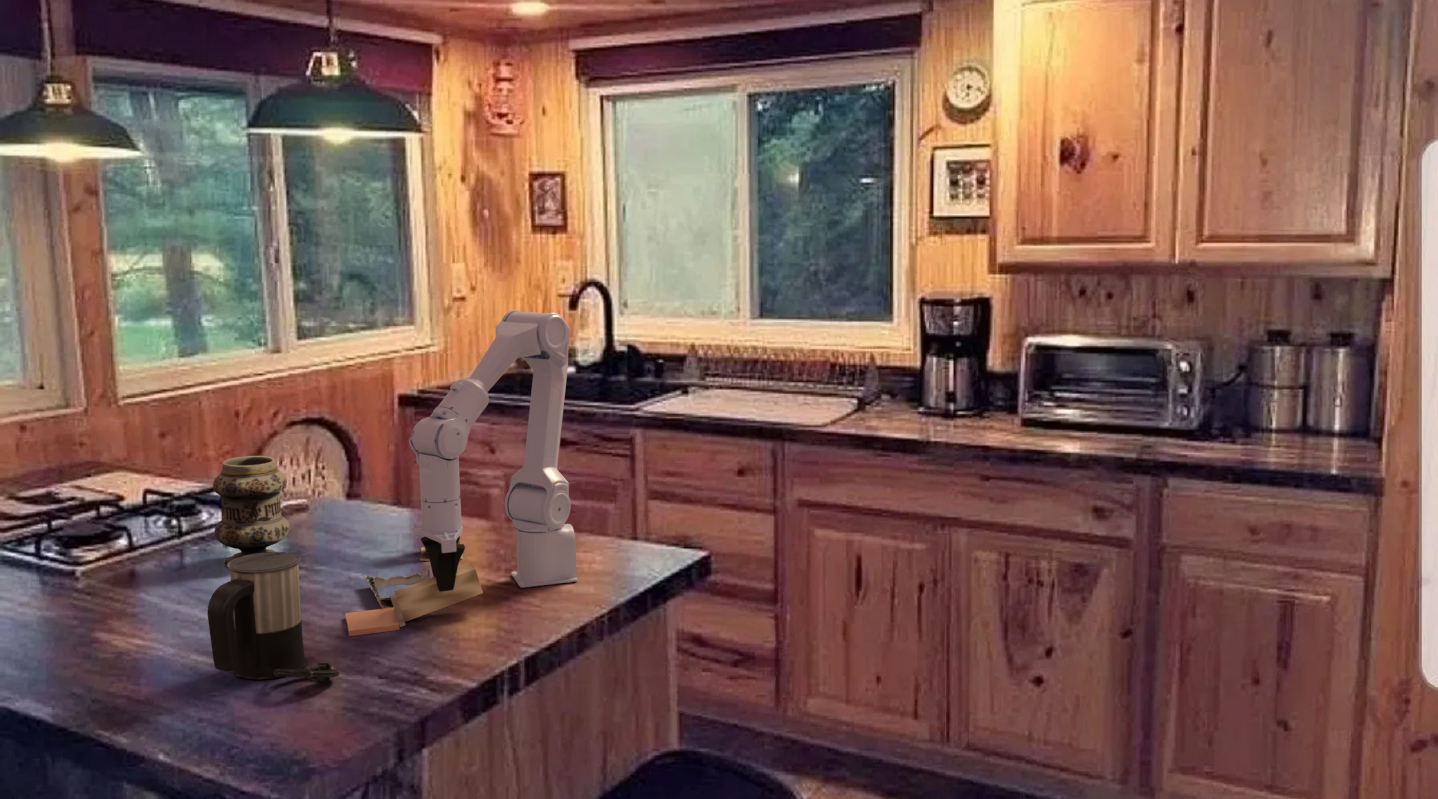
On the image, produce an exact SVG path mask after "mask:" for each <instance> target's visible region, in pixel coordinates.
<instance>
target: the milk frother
mask: <svg viewBox="0 0 1438 799" xmlns="http://www.w3.org/2000/svg"><path fill="white" fill-rule="evenodd" d="M301 560H302V559H301V556H300V555H298V554H296V553H293V552H285V551H275V552H265V553H256V554H251V555H245V556H242V557H239V558H236V559H233V560H232V561H230V562H229V563H228V564H227V567H228V568H227V567H226V568H227V569H229V571H230V572H229V573H230V581H227V582H225V583H222V584H221V585H220V586H218V587H217V588H216V590H214V592H213V593H212V594H211V596H210V600H209V602H208V605H207V622H208V627H209V628H208V629H209V636H210V643H211V650H212V651H211V652H212V659H213V665H214V667H215V668H214V669H216V670H217V671H223V672H229V673H230V672H233V674H234V675H236V677H239V678H243V679H247V680H266V679H267V680H269V679H277V678H281V677H282V678H283V677H287V678H304V679H306V680H307V679H308V680H310V681H314V682H316V683H317V684H329V682H330V680H331V679H330V678H336V677H339V676H340V671H339V669H334V666H331V663H329V662H318V663H317V664H316V665H313V666H311V667H310V668H304V667H305V666H306V665H307V658H306V657H305V647H304V638H303V626H302V606H301V605H302V603H301V586H300V583H301V582H300V569H299V568H300V567H299V563H300V562H301Z"/></svg>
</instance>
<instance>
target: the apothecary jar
mask: <svg viewBox="0 0 1438 799" xmlns="http://www.w3.org/2000/svg"><path fill="white" fill-rule="evenodd" d="M276 464H277V463H276V459H275V458H273V457H271V456H267V455H265V456H264V455H248V456H236V457H232V458H228V459H225V460H224V461H223V462H222V466H221V467H222V469H221V472H220V473H219V474H218V475H216V477H215V478H214V479H213V482H212V489H213V491H214V493H216V494H217V495H219V496H220V498H221V500H220V502H221V520H220V521H219V522H218V523H217V525H216V526H215V529H214V537H215V539H216V541H218V543H220V544H222V545H223V546H226V547H229V548H232V549H235V550H240V551H239V552H237V553H235V554H233V555H232V556H230V557H228V558H226V559H225V560H224V561H223V565H224V567H225V568H227V569H229V568H228V567H227V564H228V563H229V562H230V561H232V560H233V559H236V558H239V557H242V556H245V555H251V554H256V553H265V552H276V551H275V550H273V549H268V547H271V546H274V545H276V544H278V543H280V542H281V541H282V540H284V539H285V538H286V537H287V535H288V533H289V532H290V529H291V528H290V527H291V526H290V523H289V521H288V520H287V519H286V518H285V517H284V516H282V507H281V492H282V491H283V490H284V488H285V487H286V485H287V477H286V475H285V474H284V472H282V471H281V470H280V469H278V466H277V465H276Z"/></svg>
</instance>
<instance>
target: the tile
mask: <svg viewBox="0 0 1438 799" xmlns="http://www.w3.org/2000/svg"><path fill="white" fill-rule="evenodd" d="M344 616H345V621H346V626H347V631H348V636H349V637H351V636H352V637H353V636H361V635H368V634H377V633H383V632H384V633H385V632H393V631H400V628H401V627H400V624H399V622H398V619H397V616H396V613H395V610H394V607H393V608H384V609H382V608H377V609H370V610H369V609H368V610H362V611H354V612H345V615H344Z"/></svg>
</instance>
